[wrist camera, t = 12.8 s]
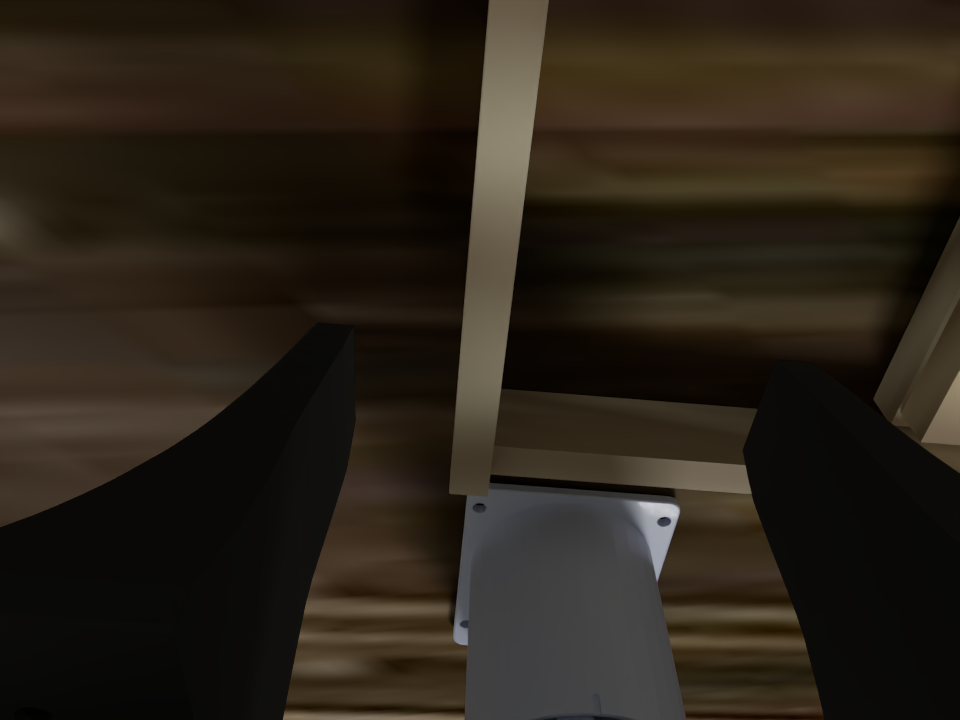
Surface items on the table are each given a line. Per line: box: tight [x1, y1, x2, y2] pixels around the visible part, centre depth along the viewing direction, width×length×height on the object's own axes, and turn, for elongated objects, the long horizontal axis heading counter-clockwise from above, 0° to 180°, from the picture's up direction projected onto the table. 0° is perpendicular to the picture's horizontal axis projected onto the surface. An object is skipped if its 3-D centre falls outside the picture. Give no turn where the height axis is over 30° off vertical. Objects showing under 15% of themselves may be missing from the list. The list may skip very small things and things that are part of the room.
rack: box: [449, 0, 960, 497], centre depth 21 cm, size 16×19×4 cm
